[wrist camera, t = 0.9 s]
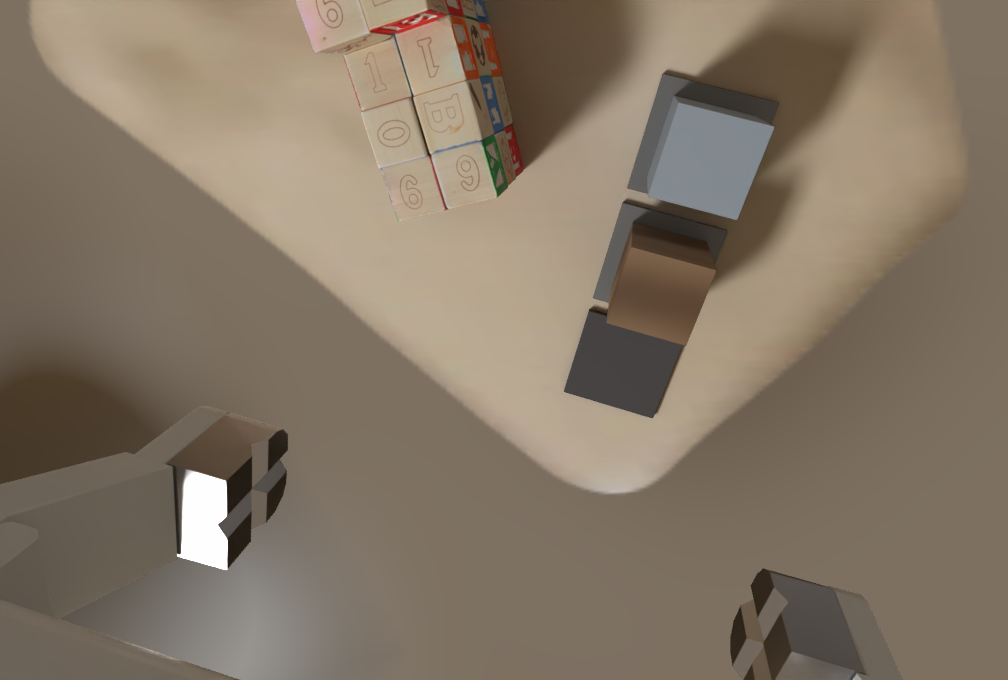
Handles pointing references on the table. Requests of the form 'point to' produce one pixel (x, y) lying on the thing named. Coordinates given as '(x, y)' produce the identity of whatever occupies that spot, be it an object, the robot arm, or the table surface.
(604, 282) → the code tile
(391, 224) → the table surface
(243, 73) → the table surface
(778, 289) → the table surface
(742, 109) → the code tile
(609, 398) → the rubber mat
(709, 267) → the walnut block
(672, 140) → the slate-blue block
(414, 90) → the stack of blocks
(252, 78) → the table surface
